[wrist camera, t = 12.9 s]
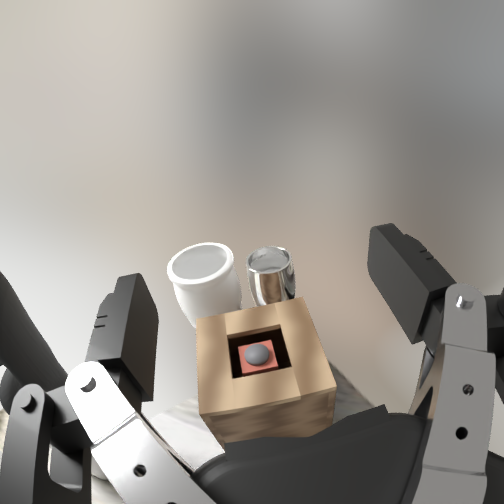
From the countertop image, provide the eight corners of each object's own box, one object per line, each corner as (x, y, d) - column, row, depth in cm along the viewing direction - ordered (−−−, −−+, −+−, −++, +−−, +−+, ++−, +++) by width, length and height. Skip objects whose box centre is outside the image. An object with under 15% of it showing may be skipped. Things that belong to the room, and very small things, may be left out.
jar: (182, 326, 57) (156, 262, 49) (228, 299, 62) (210, 234, 53) (211, 361, 50) (184, 294, 41) (261, 329, 54) (247, 259, 46)
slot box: (227, 454, 36) (199, 414, 28) (218, 374, 47) (196, 318, 40) (330, 432, 36) (336, 386, 29) (306, 356, 48) (302, 296, 40)
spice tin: (256, 415, 40) (241, 370, 33) (252, 392, 43) (237, 343, 36) (284, 408, 40) (277, 362, 33) (279, 386, 43) (270, 336, 37)
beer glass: (305, 335, 51) (301, 264, 43) (266, 350, 50) (253, 280, 42) (289, 309, 57) (281, 240, 48) (253, 322, 56) (238, 253, 47)
